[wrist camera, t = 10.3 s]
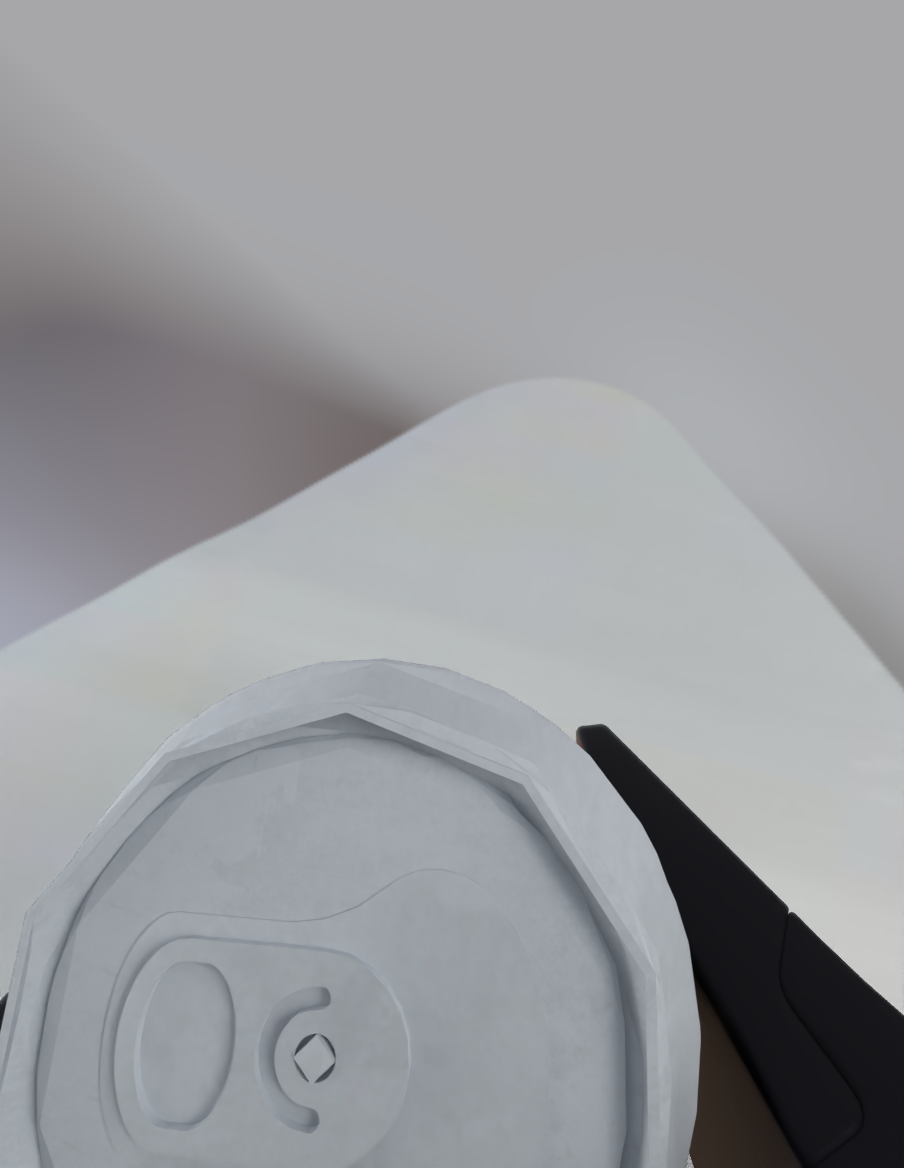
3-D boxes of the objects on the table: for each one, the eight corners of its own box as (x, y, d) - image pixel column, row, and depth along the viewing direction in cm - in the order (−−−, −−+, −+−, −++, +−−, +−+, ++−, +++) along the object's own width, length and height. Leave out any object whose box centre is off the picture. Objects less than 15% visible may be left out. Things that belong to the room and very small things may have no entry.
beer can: (557, 925, 14) (799, 1797, 2) (361, 907, 14) (-210, 1573, 3) (560, 718, 15) (731, 653, 4) (377, 707, 16) (19, 624, 4)
